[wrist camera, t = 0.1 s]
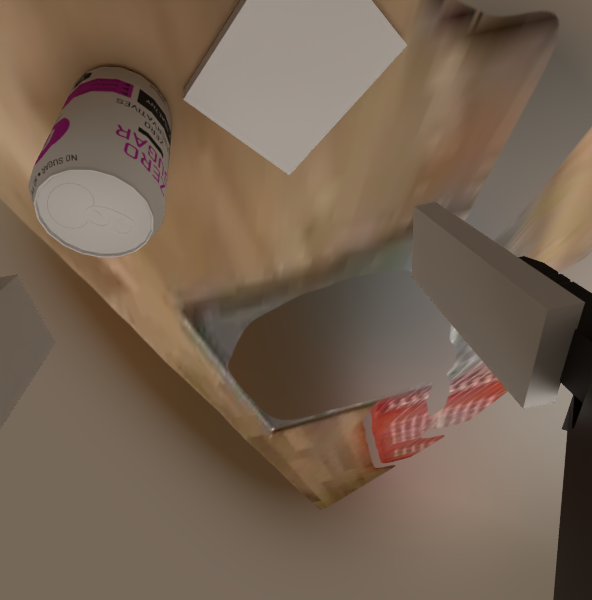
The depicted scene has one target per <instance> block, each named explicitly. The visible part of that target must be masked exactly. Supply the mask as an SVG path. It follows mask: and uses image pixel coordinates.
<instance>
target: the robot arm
mask: <svg viewBox="0 0 592 600" xmlns="http://www.w3.org/2000/svg"><path fill="white" fill-rule="evenodd" d="M412 278H413V279H414V280H415V282H416V283H417V284H418V285H419V286H420V288H421V289H422V290H423V291H424V292H425V293H426V294H427V296H428V297H429V298H430V299H431V301H433V303H434V304H435V305H436V306H437V308H438V309H439V310H440V311H441V312H442V313H443V315H444V316H445V317H446V318H447V319H448V321H449V322H450V323H451V324H452V325H453V327H454V328H455V329H456V330H457V331H458V332H459V334H460V335H461V336H462V337H463V338H464V340H465V341H466V342H467V343H468V344H469V345H470V347H471V348H472V349H473V350H474V351H475V353H476V354H477V355H478V356H479V357H480V358H481V360H482V361H483V362H484V363H485V364H486V365H487V367H488V368H489V369H490V370H491V371H492V373H493V374H494V375H495V376H496V377H497V378H498V380H499V381H500V382H501V383H502V384H503V386H504V387H505V388H506V389H507V390H508V391H509V393H510V394H511V395H512V396H513V397H514V399H515V400H516V401H517V402H518V403H519V404H520V406H521V407H522V408H523V409H525V408H529V407H535V406H540V405H544V404H549V403H554V402H555V400H556V396H557V393H558V390H559V387H560V383H562V384H563V385H564V386H565V387H566V388H567V389H568V390H569V391H570V392H571V393H572V394H573V398H572V400H571V403H570V406H569V409H568V412H567V415H566V418H565V422H564V424H563V427H562V429H563V430H567V443H566V456H565V468H564V479H563V492H562V503H561V516H560V528H559V539H558V551H557V564H556V576H555V587H554V600H592V293H590V292H589V291H587V290H586V289H584V288H583V287H581V286H579V285H578V284H576V283H574V282H570V279H568V278H567V277H565V276H564V275H562V274H558V272H557V271H556V270H554V269H553V268H551V267H549V266H548V265H546V264H545V263H543V262H540V261H537V260H534V259H531V258H528V257H525V256H523V257H517V256H515V255H514V254H512V253H511V252H509V251H508V250H506V249H505V248H503V247H502V246H500V245H499V244H497V243H496V242H494V241H493V240H491V239H490V238H488V237H487V236H485V235H484V234H482V233H481V232H479V231H478V230H476V229H475V228H473V227H472V226H470V225H469V224H468V223H466V222H465V221H463V220H462V219H460V218H459V217H457V216H456V215H454V214H453V213H451V212H450V211H448V210H447V209H445V208H444V207H442V206H441V205H439V204H438V203H436V202H434V203H429V204H423V205H417V206H414V224H413V257H412ZM55 343H56V342H55V340H54V338H53V337H52V334H51V333H50V331H49V329H48V327H47V326H46V324H45V322H44V320H43V318H42V317H41V315H40V313H39V311H38V310H37V308H36V306H35V305H34V303H33V301H32V299H31V297H30V295H29V294H28V292H27V290H26V288H25V286H24V285H23V283H22V281H21V279H20V278H19V276H18V275H12V276H6V277H0V429H1V428H2V426H3V424H4V423H5V421H6V420H7V418H8V417H9V415H10V413H11V412H12V410H13V408H14V407H15V406H16V404H17V402H18V401H19V399H20V398H21V396H22V395H23V393H24V391H25V390H26V388H27V387H28V385H29V384H30V382H31V380H32V379H33V377H34V376H35V374H36V372H37V371H38V370H39V368H40V366H41V365H42V363H43V362H44V360H45V359H46V357H47V355H48V354H49V352H50V351H51V349H52V348H53V346H54V344H55Z"/></svg>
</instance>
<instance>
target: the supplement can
mask: <svg viewBox="0 0 592 600" xmlns="http://www.w3.org/2000/svg"><path fill="white" fill-rule="evenodd" d="M171 129H172V117H171V114H170V111H169V108H168V105H167V102H166V101H165V99H164V98H163V97H162V95H161V94H160V92H159V91H158V90H157V88H156V87H155V86H154V85H152V84H151V83H150V82H149V81H147V80H146V79H145V78H143V77H142V76H141V75H139V74H137V73H134V72H132V71H129V70H127V69H124V68H121V67H99V68H97V69H94V70H91V71H88V72H86V73H85V74H84V75H83V76H82V77H81V78H80V79H79V80H78V81H77V82H76V83H75V84H74V86H73V88H72V90H71V93H70V95H69V97H68V99H67V101H66V103H65V105H64V107H63V109H62V111H61V113H60V115H59V117H58V119H57V121H56V123H55V125H54V127H53V129H52V131H51V133H50V135H49V137H48V139H47V141H46V143H45V145H44V147H43V149H42V151H41V153H40V155H39V157H38V159H37V161H36V163H35V165H34V167H33V170H32V174H31V178H30V182H29V185H28V186H29V190H30V194H31V199H32V203H33V206H34V208H35V211H36V215H37V219H38V220H39V222H40V223H41V224H42V226H43V227H44V229H45V230H46V231H47V233H48V234H49V235H51V236H52V237H53V238H54V239H56V240H57V241H58V242H60V243H61V244H62V245H64V246H66V247H68V248H70V249H72V250H75V251H77V252H79V253H82V254H86V255H91V256H96V257H101V258H102V257H121V256H124V255H127V254H130V253H133V252H136V251H137V250H138V249H140V248H141V247H142V246H144V245H145V244H146V243H147V242H148V240H149V239H150V238H151V237H152V236H154V235H155V234H156V233H157V231H158V229H159V228H160V226H161V224H162V222H163V220H164V212H165V201H166V189H167V178H168V166H169V154H170V143H171Z"/></svg>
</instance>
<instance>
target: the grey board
mask: <svg viewBox="0 0 592 600" xmlns="http://www.w3.org/2000/svg"><path fill="white" fill-rule="evenodd" d="M406 46H407V45H406V43H405V42H404V41H403V39H402V38H401V37H400V36H399V34H398V33H397V32H396V30H395V29H394V28H393V27H392V25H391V24H390V23H389V22H388V20H387V19H386V18H385V16H384V15H383V14H382V13H381V11H380V10H379V9H378V7H377V6H376V5H375V4H374V2H373V1H372V0H240V2H239V3H238V5H237V6H236V8H235V9H234V11H233V13H232V14H231V16H230V17H229V19H228V21H227V22H226V24H225V25H224V27H223V28H222V30H221V32H220V33H219V35H218V36H217V38H216V40H215V41H214V43H213V44H212V46H211V47H210V49H209V51H208V52H207V54H206V55H205V57H204V59H203V60H202V62H201V63H200V65H199V66H198V68H197V70H196V71H195V73H194V74H193V76H192V78H191V79H190V81H189V82H188V84H187V85H186V87H185V89H184V95H183V100H185V101H186V102H187V103H189V104H190V105H192V106H193V107H194V108H196V109H197V110H199V111H200V112H201V113H203V114H204V115H206V116H207V117H208V118H210V119H211V120H213V121H214V122H215V123H217V124H218V125H220V126H221V127H222V128H224V129H225V130H227V131H228V132H229V133H231V134H232V135H234V136H235V137H236V138H238V139H239V140H241V141H242V142H243V143H245V144H246V145H248V146H249V147H250V148H252V149H253V150H255V151H256V152H257V153H259V154H260V155H262V156H263V157H264V158H266V159H267V160H269V161H270V162H271V163H273V164H274V165H276V166H277V167H278V168H280V169H281V170H283V171H284V172H285V173H287V174H288V175H290V174H291V173H292V172H293V171H294V170H295V168H296V167H297V166H298V165H299V164H300V163H301V162H302V161H303V160H304V159H305V157H306V156H307V155H308V154H309V153H310V152H311V151H312V150H313V149H314V147H315V146H316V145H317V144H318V143H319V142H320V141H321V140H322V139H323V138H324V136H325V135H326V134H327V133H328V132H329V131H330V130H331V129H332V128H333V127H334V125H335V124H336V123H337V122H338V121H339V120H340V119H341V118H342V117H343V116H344V114H345V113H346V112H347V111H348V110H349V109H350V108H351V107H352V106H353V105H354V103H355V102H356V101H357V100H358V99H359V98H360V97H361V96H362V95H363V94H364V92H365V91H366V90H367V89H368V88H369V87H370V86H371V85H372V84H373V83H374V81H375V80H376V79H377V78H378V77H379V76H380V75H381V74H382V73H383V72H384V70H385V69H386V68H387V67H388V66H389V65H390V64H391V63H392V62H393V61H394V59H395V58H396V57H397V56H398V55H399V54H400V53H401V52H402V51H403V50H404V48H405V47H406Z"/></svg>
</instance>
